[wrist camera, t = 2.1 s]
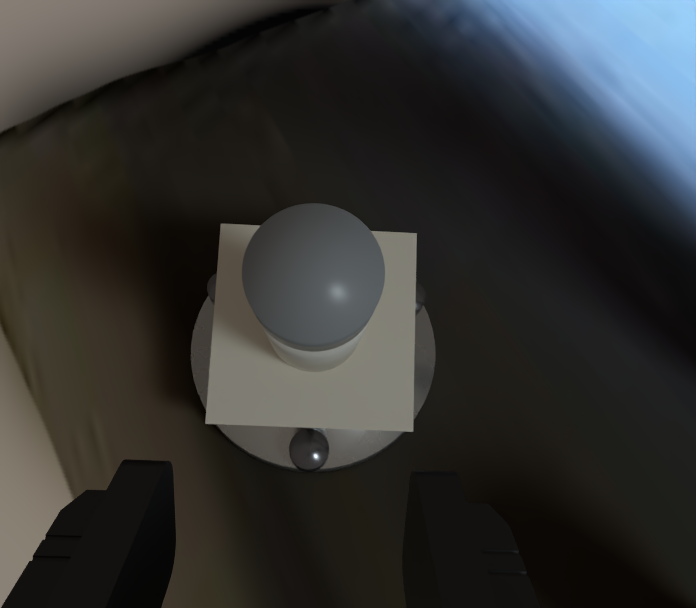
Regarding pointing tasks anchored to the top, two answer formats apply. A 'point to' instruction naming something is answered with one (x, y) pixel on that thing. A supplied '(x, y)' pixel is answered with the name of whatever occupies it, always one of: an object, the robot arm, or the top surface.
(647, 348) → the top surface
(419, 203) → the top surface
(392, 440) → the base
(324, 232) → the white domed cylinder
